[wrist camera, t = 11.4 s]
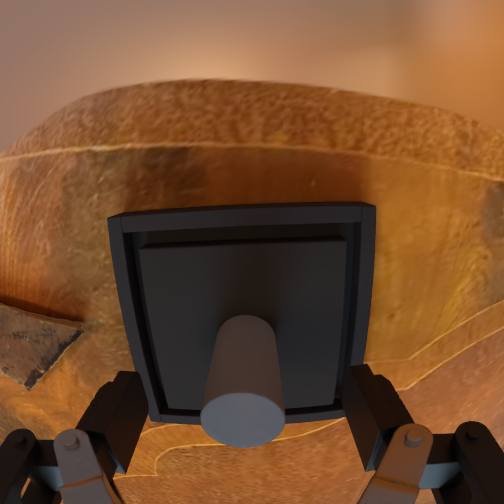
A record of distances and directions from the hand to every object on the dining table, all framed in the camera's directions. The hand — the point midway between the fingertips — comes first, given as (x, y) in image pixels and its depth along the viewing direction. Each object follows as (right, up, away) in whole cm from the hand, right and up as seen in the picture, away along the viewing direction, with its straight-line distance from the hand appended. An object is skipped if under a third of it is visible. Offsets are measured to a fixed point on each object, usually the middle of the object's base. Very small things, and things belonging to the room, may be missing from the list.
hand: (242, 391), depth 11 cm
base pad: (0, +1, +6) cm, 7 cm away
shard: (-17, 0, +7) cm, 18 cm away
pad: (0, +1, +6) cm, 6 cm away
